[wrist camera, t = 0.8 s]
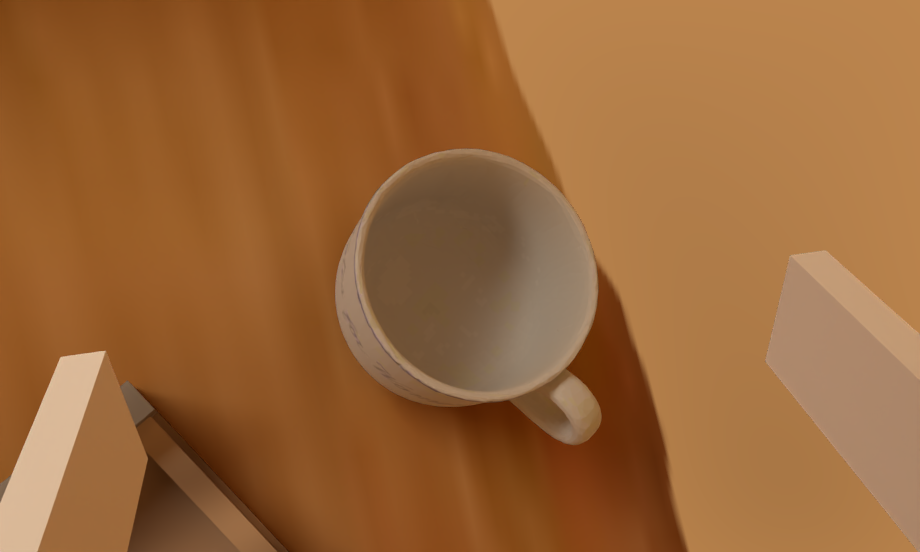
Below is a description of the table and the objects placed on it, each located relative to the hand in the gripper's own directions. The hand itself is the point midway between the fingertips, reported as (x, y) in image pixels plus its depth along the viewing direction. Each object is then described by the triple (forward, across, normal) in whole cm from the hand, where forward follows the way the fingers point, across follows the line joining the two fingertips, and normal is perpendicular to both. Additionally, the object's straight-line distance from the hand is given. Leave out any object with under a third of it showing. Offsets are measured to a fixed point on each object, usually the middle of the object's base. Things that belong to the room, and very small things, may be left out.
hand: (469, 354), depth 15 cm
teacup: (+19, +2, -14) cm, 23 cm away
